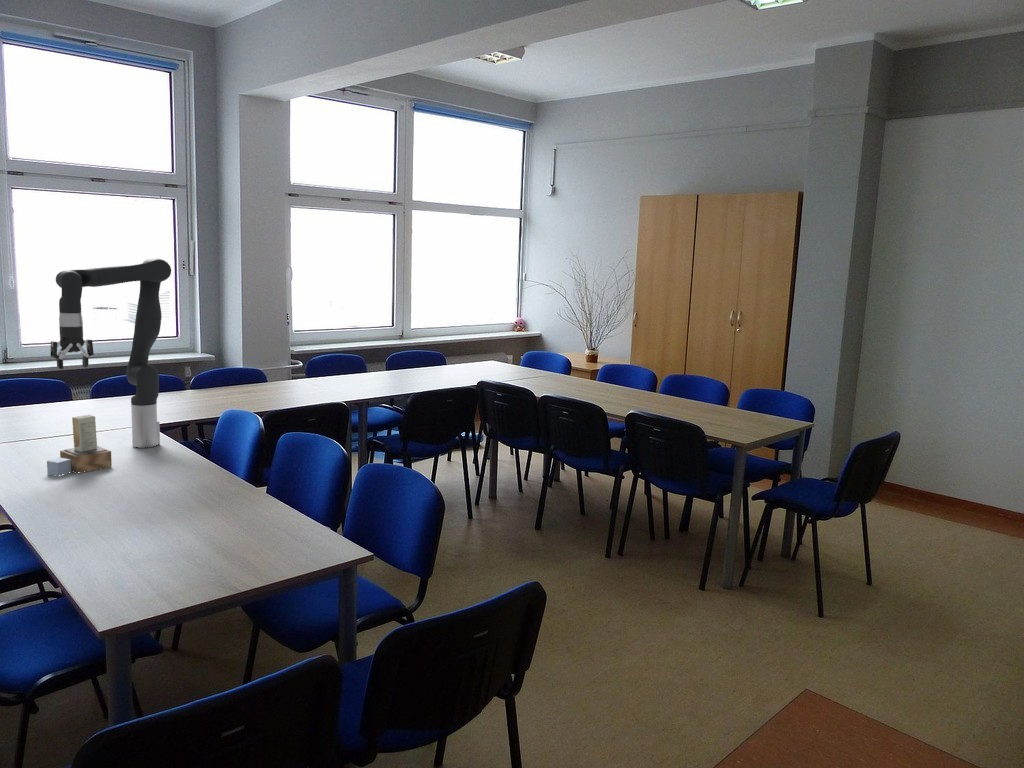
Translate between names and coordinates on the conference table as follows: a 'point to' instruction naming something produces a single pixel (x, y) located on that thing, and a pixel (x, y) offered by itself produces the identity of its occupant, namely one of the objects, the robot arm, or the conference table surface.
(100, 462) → the walnut base
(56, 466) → the slate cube
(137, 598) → the conference table surface
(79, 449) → the skincare box
